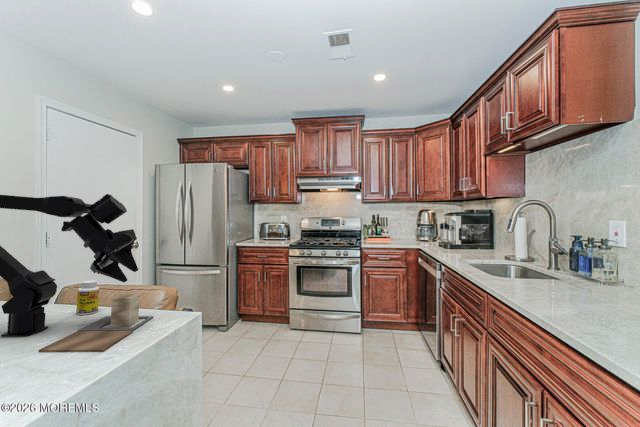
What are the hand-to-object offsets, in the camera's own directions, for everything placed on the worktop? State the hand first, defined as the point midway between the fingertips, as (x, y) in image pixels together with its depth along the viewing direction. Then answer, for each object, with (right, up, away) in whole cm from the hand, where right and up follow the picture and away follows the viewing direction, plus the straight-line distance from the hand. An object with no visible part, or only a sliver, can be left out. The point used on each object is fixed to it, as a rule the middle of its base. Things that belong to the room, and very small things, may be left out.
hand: (131, 276), depth 84 cm
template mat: (-5, -14, +1) cm, 15 cm away
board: (-3, -14, -11) cm, 18 cm away
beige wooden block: (-3, -14, +2) cm, 15 cm away
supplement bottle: (-21, -15, +11) cm, 28 cm away
